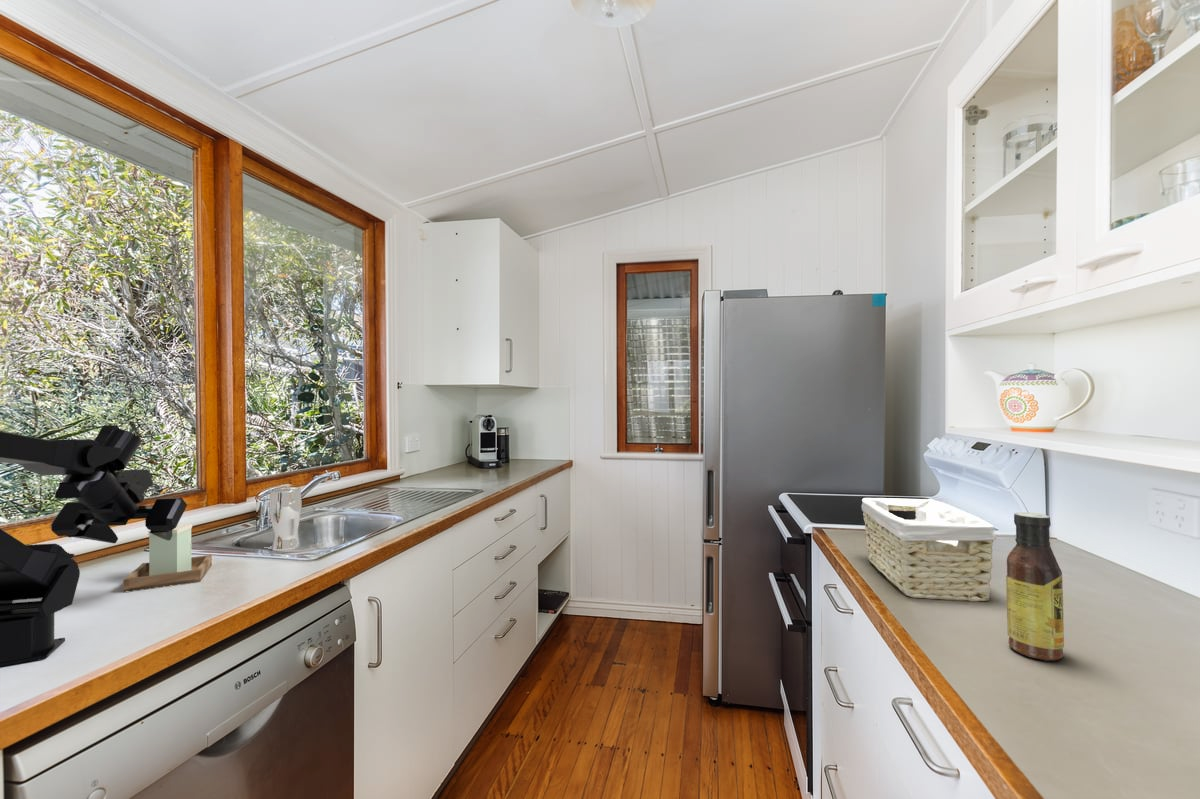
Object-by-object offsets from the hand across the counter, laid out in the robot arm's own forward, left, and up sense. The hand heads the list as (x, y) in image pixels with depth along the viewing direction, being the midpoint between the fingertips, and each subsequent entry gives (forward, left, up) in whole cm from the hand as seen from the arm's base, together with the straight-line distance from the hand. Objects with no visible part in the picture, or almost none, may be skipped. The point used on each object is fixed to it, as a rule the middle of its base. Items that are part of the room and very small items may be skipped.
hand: (143, 539), depth 99 cm
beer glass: (+22, -23, -11) cm, 33 cm away
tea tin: (+8, -3, -10) cm, 13 cm away
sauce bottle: (-96, -122, -11) cm, 155 cm away
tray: (+8, -3, -10) cm, 13 cm away
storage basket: (-71, -138, -11) cm, 156 cm away
